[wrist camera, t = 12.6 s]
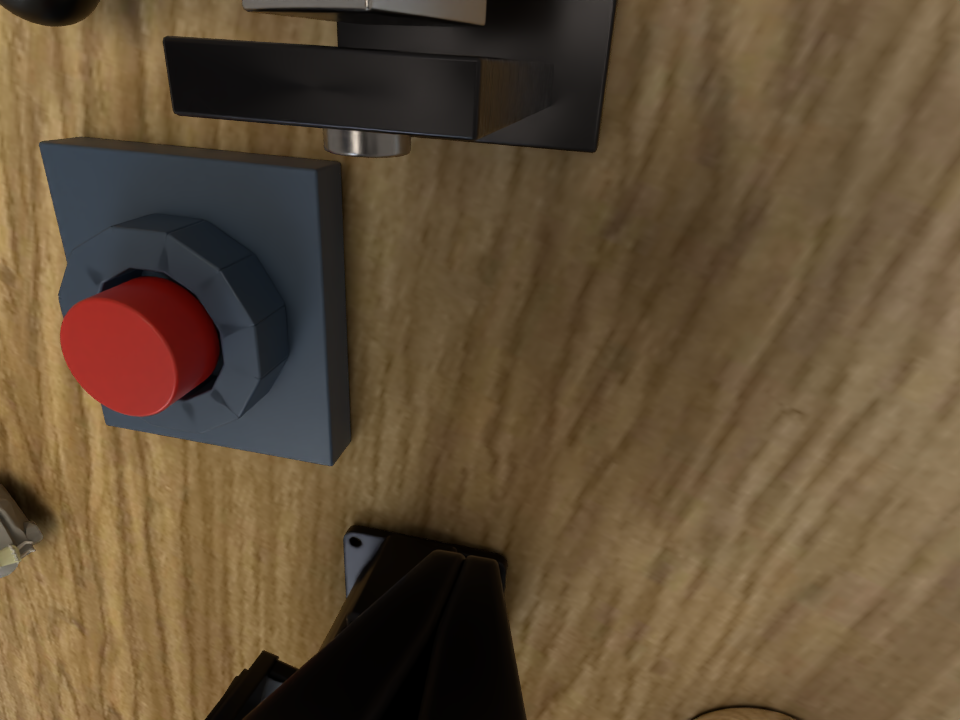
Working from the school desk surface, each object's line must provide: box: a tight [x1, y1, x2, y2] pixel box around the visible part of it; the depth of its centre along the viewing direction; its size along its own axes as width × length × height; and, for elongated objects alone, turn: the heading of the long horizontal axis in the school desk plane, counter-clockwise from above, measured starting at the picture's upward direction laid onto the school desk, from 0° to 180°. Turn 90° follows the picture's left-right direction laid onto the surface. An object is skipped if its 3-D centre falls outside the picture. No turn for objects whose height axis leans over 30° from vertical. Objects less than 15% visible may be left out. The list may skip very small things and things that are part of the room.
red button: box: [60, 276, 220, 417], centre depth 18 cm, size 4×4×2 cm
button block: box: [39, 137, 351, 466], centre depth 20 cm, size 10×9×4 cm
